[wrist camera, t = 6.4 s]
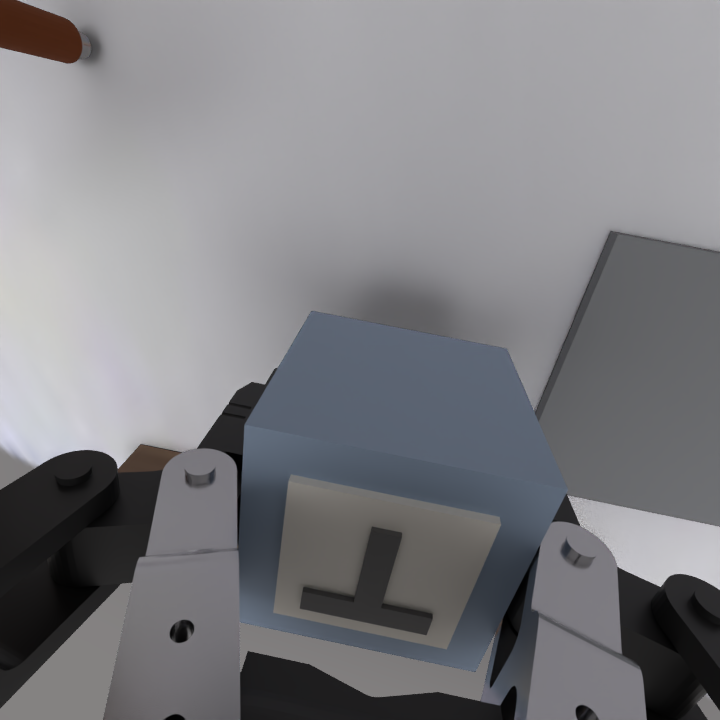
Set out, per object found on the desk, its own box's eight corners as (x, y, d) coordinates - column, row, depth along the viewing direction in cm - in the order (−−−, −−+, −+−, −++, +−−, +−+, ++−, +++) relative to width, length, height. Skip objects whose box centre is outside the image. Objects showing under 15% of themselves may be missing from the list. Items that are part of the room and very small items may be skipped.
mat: (611, 231, 15) (618, 234, 15) (932, 293, 15) (951, 298, 15) (509, 474, 20) (512, 483, 20) (750, 524, 20) (760, 534, 19)
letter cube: (311, 310, 11) (238, 435, 7) (507, 348, 11) (573, 502, 6) (293, 462, 14) (229, 633, 9) (454, 494, 13) (476, 685, 9)
